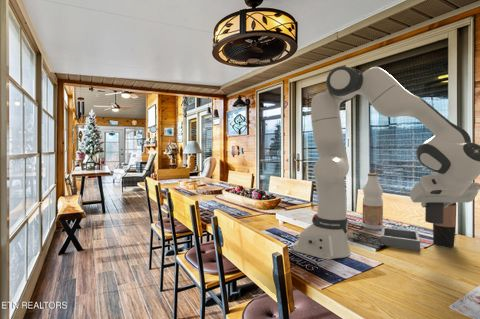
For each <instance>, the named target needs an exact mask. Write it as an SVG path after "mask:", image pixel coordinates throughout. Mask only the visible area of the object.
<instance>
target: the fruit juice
mask: <svg viewBox="0 0 480 319" xmlns="http://www.w3.org/2000/svg"><path fill="white" fill-rule="evenodd" d="M367 177H368V179H367V180H366V184H365V186H363V190H362V191H363V198H362V227H363V228H365V229H368V230H373V231H374V230H375V231H377V230H378V231H379V230H382V227H384V226H383V224H384V223H383V221H384V216H383V215H384V199H383V196H382V195H383V193H384V190H383V188H382V185H381V184H380V182H379V173H377V172H375V173H374V172H370V173H367Z"/></svg>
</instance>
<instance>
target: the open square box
mask: <svg viewBox="0 0 480 319" xmlns="http://www.w3.org/2000/svg"><path fill="white" fill-rule="evenodd" d="M381 244H383V245H382V246H384V245H386V247H389V248H390V247H391V248H399V249H403V250H409V251H410V250H411V251H418V252H421V239H420V234H419V231H418V230H417V231H416V230H410V229H409V230H408V229H398V228H394V227H392V228H391V227H384V226H383V227H382V229H381V234H380V245H381Z"/></svg>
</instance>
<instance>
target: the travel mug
mask: <svg viewBox="0 0 480 319" xmlns="http://www.w3.org/2000/svg"><path fill="white" fill-rule="evenodd" d="M456 210H457V202H455V203H453V204H451V205H448V206H447V207H444V208H443V224H434V223H432V239H433V240H432V241H433V243H432V244H434V245H435V246H438V247H441V248H450V249H451V248H454V247H455V240H456V238H455V237H456V224H457V223H456V221H457V219H456V217H457V213H456V212H457V211H456Z"/></svg>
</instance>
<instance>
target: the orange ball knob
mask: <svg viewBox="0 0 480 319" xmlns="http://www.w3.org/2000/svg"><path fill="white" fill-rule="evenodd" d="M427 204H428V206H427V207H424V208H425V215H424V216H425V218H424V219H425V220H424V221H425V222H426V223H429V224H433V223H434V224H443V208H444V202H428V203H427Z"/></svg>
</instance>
